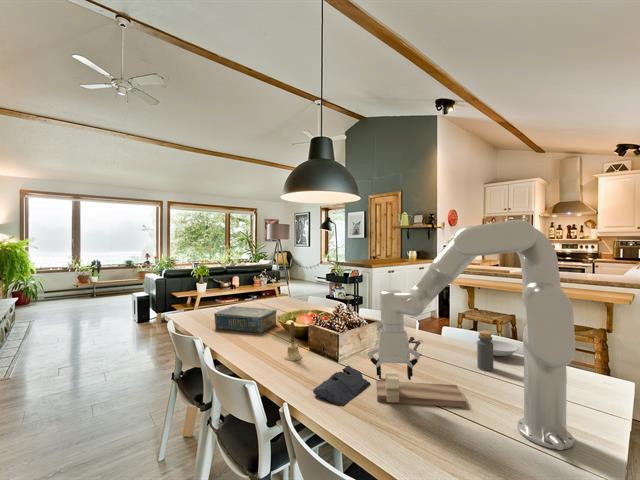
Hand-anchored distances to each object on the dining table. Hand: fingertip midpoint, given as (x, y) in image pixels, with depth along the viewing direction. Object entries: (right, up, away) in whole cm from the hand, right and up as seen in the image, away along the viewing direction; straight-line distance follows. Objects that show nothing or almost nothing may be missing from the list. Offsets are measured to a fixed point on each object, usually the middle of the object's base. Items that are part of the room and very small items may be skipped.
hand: (394, 377), depth 105 cm
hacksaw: (+22, -7, +50) cm, 55 cm away
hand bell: (-37, -8, +38) cm, 54 cm away
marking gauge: (0, -7, +2) cm, 7 cm away
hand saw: (+1, -8, +22) cm, 23 cm away
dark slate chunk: (-17, -8, +8) cm, 21 cm away
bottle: (+44, -7, +24) cm, 50 cm away
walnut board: (+9, -7, +2) cm, 12 cm away
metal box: (-71, -7, +87) cm, 113 cm away
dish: (+56, -7, +38) cm, 68 cm away
